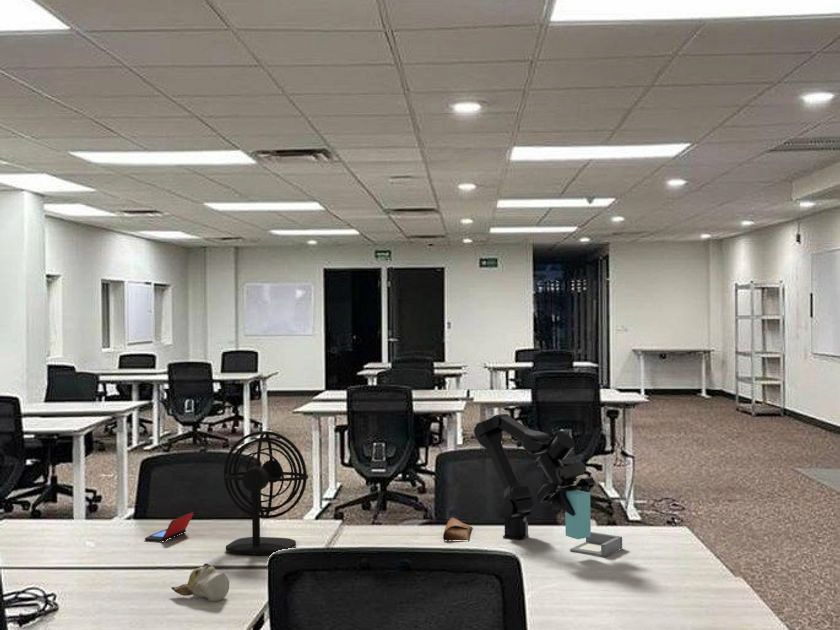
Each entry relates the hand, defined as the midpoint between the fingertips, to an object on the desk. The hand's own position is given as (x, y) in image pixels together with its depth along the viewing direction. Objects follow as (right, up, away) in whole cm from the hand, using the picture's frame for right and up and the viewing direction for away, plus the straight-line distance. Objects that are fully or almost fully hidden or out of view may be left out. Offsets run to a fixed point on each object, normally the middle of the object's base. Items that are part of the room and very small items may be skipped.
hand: (581, 514), depth 243 cm
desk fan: (-93, -14, +16) cm, 96 cm away
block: (-1, -7, +1) cm, 7 cm away
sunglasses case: (-34, -14, +29) cm, 46 cm away
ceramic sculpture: (-100, -14, -29) cm, 105 cm away
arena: (+5, -12, +8) cm, 16 cm away
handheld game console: (-126, -15, +31) cm, 131 cm away
